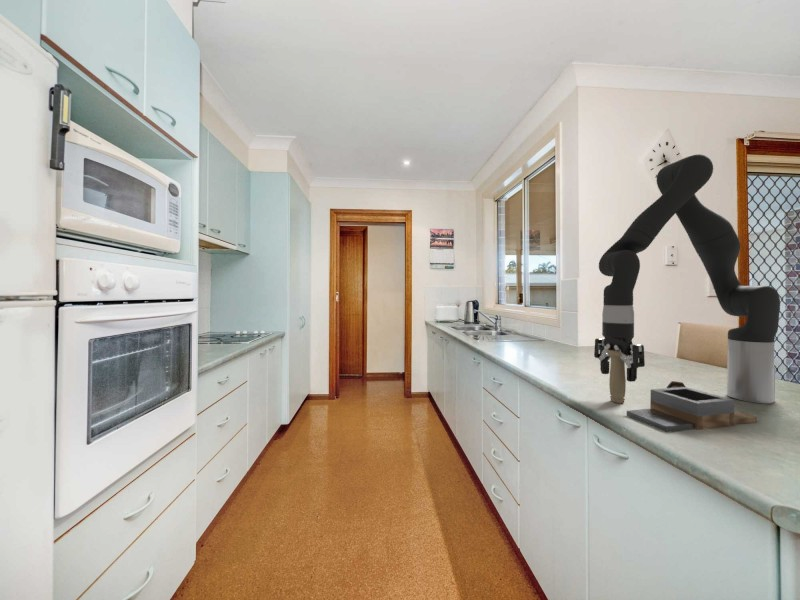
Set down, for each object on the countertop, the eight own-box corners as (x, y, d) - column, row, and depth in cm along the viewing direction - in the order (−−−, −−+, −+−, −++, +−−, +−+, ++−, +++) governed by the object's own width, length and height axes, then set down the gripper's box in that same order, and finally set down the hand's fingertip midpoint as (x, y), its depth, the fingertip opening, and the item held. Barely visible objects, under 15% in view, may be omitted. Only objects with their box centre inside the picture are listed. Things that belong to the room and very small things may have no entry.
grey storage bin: (683, 408, 85) (684, 386, 85) (734, 425, 75) (734, 400, 74) (624, 414, 82) (625, 391, 81) (668, 432, 71) (669, 406, 71)
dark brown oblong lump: (679, 398, 99) (683, 411, 88) (661, 388, 102) (663, 398, 90) (691, 384, 98) (698, 394, 86) (673, 374, 100) (676, 382, 89)
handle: (629, 401, 92) (630, 349, 92) (625, 406, 87) (625, 352, 87) (610, 397, 95) (610, 347, 95) (604, 402, 91) (605, 350, 90)
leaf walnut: (707, 406, 87) (707, 395, 87) (759, 422, 76) (760, 410, 76) (650, 412, 83) (650, 400, 83) (697, 429, 72) (697, 416, 72)
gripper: (653, 322, 85) (652, 383, 85) (608, 318, 99) (607, 370, 99) (629, 323, 83) (629, 385, 83) (587, 319, 97) (587, 372, 97)
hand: (617, 377), depth 91 cm, fingers open, 8 cm apart
